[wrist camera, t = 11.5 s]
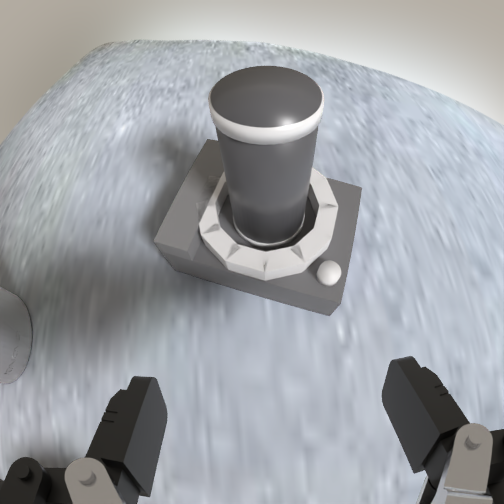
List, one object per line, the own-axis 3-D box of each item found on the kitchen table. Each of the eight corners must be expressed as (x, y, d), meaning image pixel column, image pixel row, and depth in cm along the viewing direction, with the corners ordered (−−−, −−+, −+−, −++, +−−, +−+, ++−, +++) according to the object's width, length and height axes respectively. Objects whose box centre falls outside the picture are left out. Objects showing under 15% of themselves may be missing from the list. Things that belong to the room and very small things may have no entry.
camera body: (174, 270, 23) (153, 241, 18) (216, 178, 26) (207, 139, 22) (329, 315, 21) (346, 296, 16) (351, 212, 24) (366, 175, 20)
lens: (222, 238, 20) (188, 118, 11) (245, 182, 21) (231, 61, 12) (295, 257, 19) (314, 138, 10) (311, 197, 21) (330, 74, 12)
